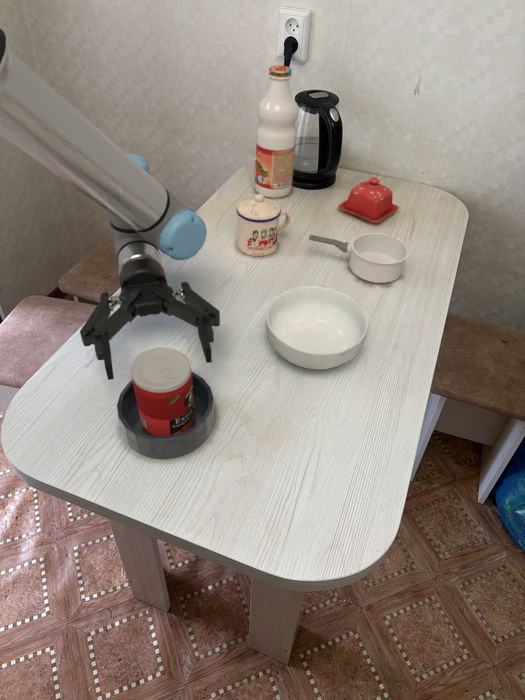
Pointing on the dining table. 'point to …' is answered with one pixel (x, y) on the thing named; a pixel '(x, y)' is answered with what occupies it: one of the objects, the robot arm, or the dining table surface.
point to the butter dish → (370, 201)
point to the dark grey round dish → (174, 443)
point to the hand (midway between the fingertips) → (160, 364)
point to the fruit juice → (276, 136)
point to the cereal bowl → (316, 326)
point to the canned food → (164, 391)
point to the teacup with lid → (259, 225)
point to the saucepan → (373, 255)
